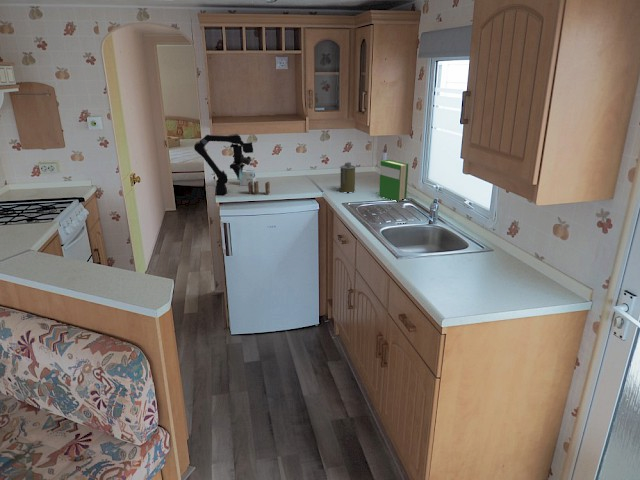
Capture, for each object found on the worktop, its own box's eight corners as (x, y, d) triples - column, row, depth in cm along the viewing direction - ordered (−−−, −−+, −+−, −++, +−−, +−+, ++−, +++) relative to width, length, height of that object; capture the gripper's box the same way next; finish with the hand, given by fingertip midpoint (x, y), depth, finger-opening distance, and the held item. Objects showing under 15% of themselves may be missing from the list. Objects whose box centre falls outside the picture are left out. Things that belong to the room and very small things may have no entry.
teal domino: (237, 180, 314) (236, 168, 311) (239, 178, 318) (238, 166, 315) (239, 180, 313) (238, 168, 310) (242, 178, 318) (241, 166, 315)
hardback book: (406, 200, 299) (408, 163, 291) (397, 202, 295) (400, 165, 287) (387, 194, 313) (388, 159, 304) (379, 196, 309) (380, 160, 300)
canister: (344, 188, 328) (344, 160, 321) (357, 190, 323) (358, 162, 316) (337, 192, 319) (337, 163, 312) (350, 194, 314) (350, 165, 307)
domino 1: (248, 194, 316) (248, 182, 313) (250, 192, 320) (250, 181, 318) (251, 194, 316) (250, 182, 313) (253, 192, 320) (252, 181, 317)
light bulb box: (256, 183, 343) (255, 169, 339) (253, 185, 337) (253, 171, 333) (242, 183, 344) (240, 169, 340) (239, 185, 338) (238, 171, 334)
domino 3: (265, 194, 314) (265, 183, 311) (267, 192, 319) (267, 181, 316) (268, 195, 314) (267, 183, 311) (269, 193, 318) (269, 181, 316)
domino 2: (254, 194, 315) (253, 183, 312) (256, 192, 320) (255, 181, 317) (256, 194, 315) (256, 183, 312) (258, 192, 320) (258, 181, 317)
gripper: (245, 156, 299) (246, 179, 305) (253, 151, 317) (254, 173, 322) (228, 156, 301) (230, 179, 307) (237, 150, 318) (239, 173, 324)
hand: (239, 176), depth 315 cm, fingers closed on teal domino, 5 cm apart
